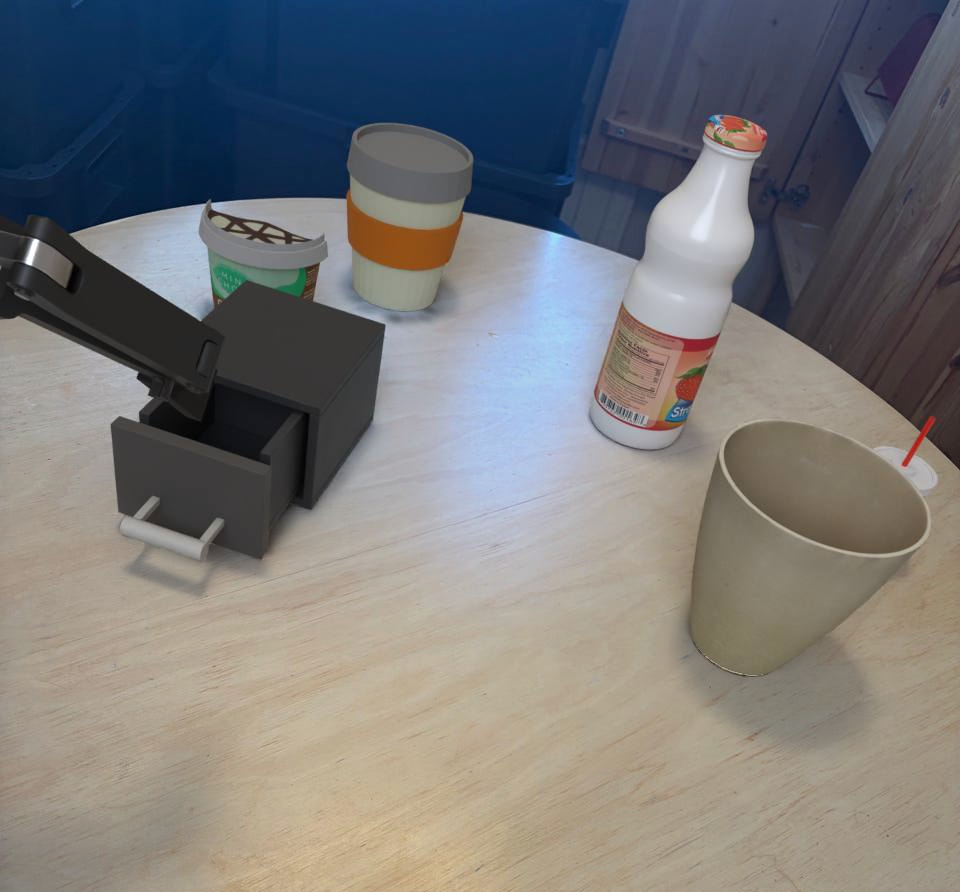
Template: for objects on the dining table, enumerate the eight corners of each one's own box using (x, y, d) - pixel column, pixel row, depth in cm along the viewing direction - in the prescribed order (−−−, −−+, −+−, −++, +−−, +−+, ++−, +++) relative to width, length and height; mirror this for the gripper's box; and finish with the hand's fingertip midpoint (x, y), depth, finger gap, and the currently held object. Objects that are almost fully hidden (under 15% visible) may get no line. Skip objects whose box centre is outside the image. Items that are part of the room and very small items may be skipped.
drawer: (236, 596, 69) (237, 509, 64) (86, 545, 70) (76, 455, 64) (329, 464, 82) (337, 382, 76) (202, 422, 82) (201, 338, 77)
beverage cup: (893, 546, 91) (975, 418, 81) (878, 579, 87) (963, 449, 77) (832, 516, 92) (905, 387, 83) (814, 548, 88) (889, 416, 79)
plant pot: (693, 726, 70) (784, 560, 59) (617, 583, 80) (684, 417, 68) (863, 707, 75) (977, 550, 64) (773, 574, 84) (859, 418, 73)
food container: (177, 324, 94) (174, 220, 87) (205, 297, 98) (204, 197, 91) (299, 361, 94) (306, 260, 86) (322, 333, 98) (330, 235, 91)
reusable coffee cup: (318, 265, 108) (330, 120, 97) (421, 260, 113) (443, 123, 103) (362, 323, 101) (379, 174, 90) (470, 316, 106) (498, 174, 96)
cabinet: (311, 510, 79) (320, 408, 72) (165, 462, 79) (160, 356, 73) (373, 420, 89) (386, 324, 82) (243, 378, 90) (246, 279, 83)
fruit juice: (588, 389, 100) (678, 93, 81) (677, 409, 101) (788, 120, 81) (586, 440, 94) (684, 131, 74) (681, 461, 94) (803, 160, 75)
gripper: (-683, 120, 29) (-174, 353, 50) (105, 366, 28) (285, 498, 49) (-601, -119, 29) (-128, 214, 50) (187, 116, 28) (332, 355, 49)
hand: (76, 354), depth 50 cm, fingers open, 13 cm apart
